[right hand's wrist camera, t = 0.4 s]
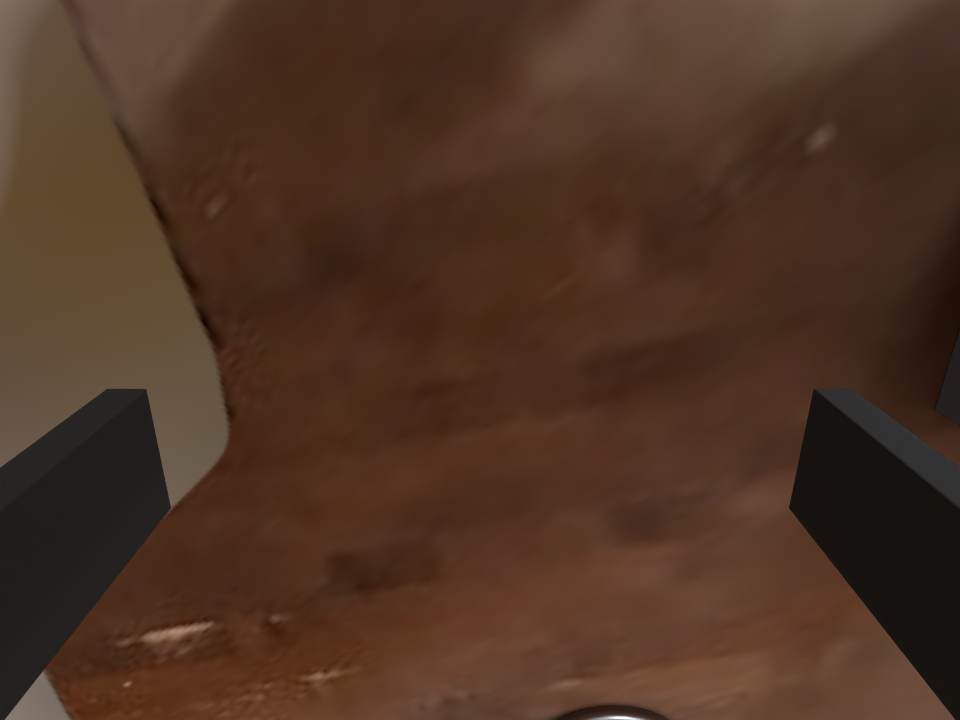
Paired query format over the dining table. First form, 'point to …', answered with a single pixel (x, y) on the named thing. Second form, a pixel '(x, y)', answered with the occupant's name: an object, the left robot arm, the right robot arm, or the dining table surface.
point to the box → (951, 387)
